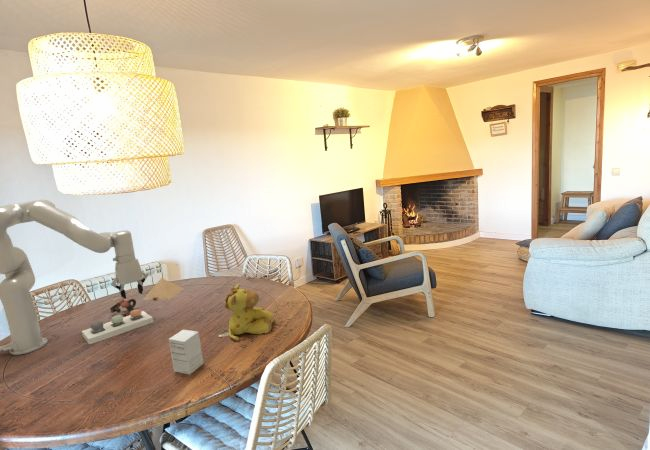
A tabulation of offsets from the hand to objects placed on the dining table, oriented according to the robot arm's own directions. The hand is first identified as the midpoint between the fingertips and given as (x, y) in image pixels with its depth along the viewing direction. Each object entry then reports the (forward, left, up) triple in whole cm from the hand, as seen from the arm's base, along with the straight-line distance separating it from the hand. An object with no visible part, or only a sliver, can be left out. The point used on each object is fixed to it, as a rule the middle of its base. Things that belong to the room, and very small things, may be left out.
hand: (132, 295), depth 171 cm
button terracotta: (0, 0, -12) cm, 12 cm away
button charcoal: (-16, 0, -12) cm, 20 cm away
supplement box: (-1, -57, -14) cm, 59 cm away
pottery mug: (0, +18, -14) cm, 23 cm away
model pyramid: (+23, +29, -14) cm, 40 cm away
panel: (-8, 0, -14) cm, 16 cm away
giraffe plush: (+30, -48, -14) cm, 59 cm away
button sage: (-8, 0, -12) cm, 14 cm away
